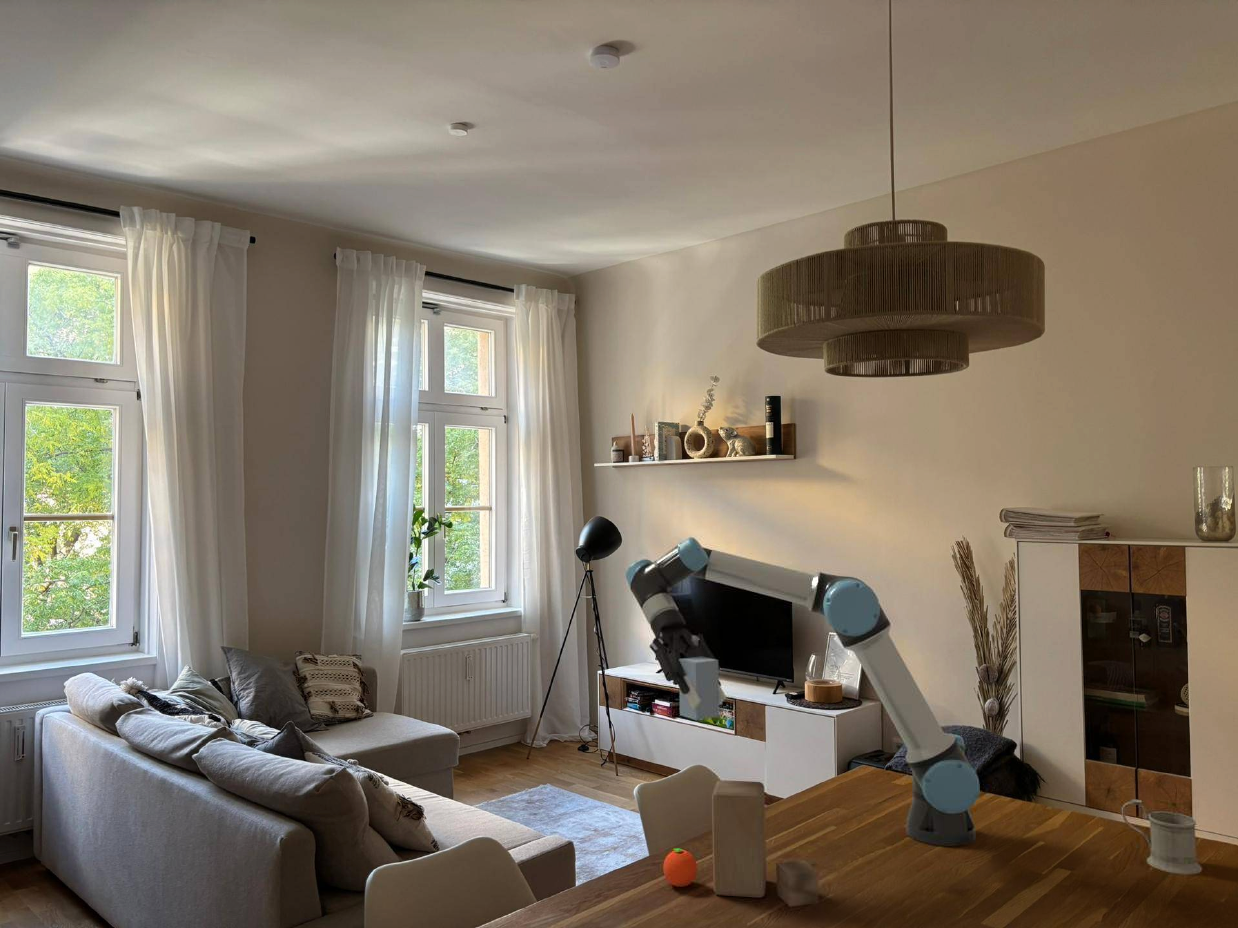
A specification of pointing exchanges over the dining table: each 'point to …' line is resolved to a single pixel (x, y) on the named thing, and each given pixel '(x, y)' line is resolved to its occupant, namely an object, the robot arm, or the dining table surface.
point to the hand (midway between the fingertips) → (709, 702)
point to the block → (739, 838)
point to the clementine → (680, 867)
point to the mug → (1170, 841)
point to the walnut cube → (797, 882)
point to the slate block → (701, 687)
